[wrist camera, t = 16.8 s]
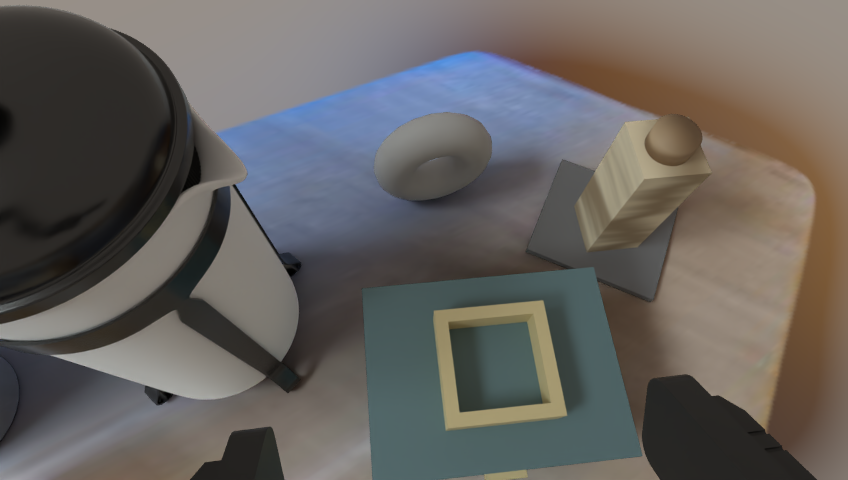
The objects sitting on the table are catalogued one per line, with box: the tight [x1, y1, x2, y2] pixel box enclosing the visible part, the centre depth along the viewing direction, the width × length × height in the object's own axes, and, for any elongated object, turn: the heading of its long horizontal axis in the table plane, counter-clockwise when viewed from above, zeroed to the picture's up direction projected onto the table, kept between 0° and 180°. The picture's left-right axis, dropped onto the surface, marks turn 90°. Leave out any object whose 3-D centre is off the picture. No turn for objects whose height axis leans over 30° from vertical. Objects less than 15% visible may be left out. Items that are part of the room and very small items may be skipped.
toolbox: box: [362, 267, 642, 480], centre depth 35 cm, size 16×13×9 cm
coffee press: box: [0, 6, 301, 405], centre depth 27 cm, size 17×16×30 cm
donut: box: [374, 112, 492, 201], centre depth 42 cm, size 10×4×10 cm, turn 105°
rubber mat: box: [526, 159, 678, 302], centre depth 45 cm, size 11×10×1 cm
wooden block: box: [574, 114, 712, 252], centre depth 38 cm, size 4×4×14 cm
